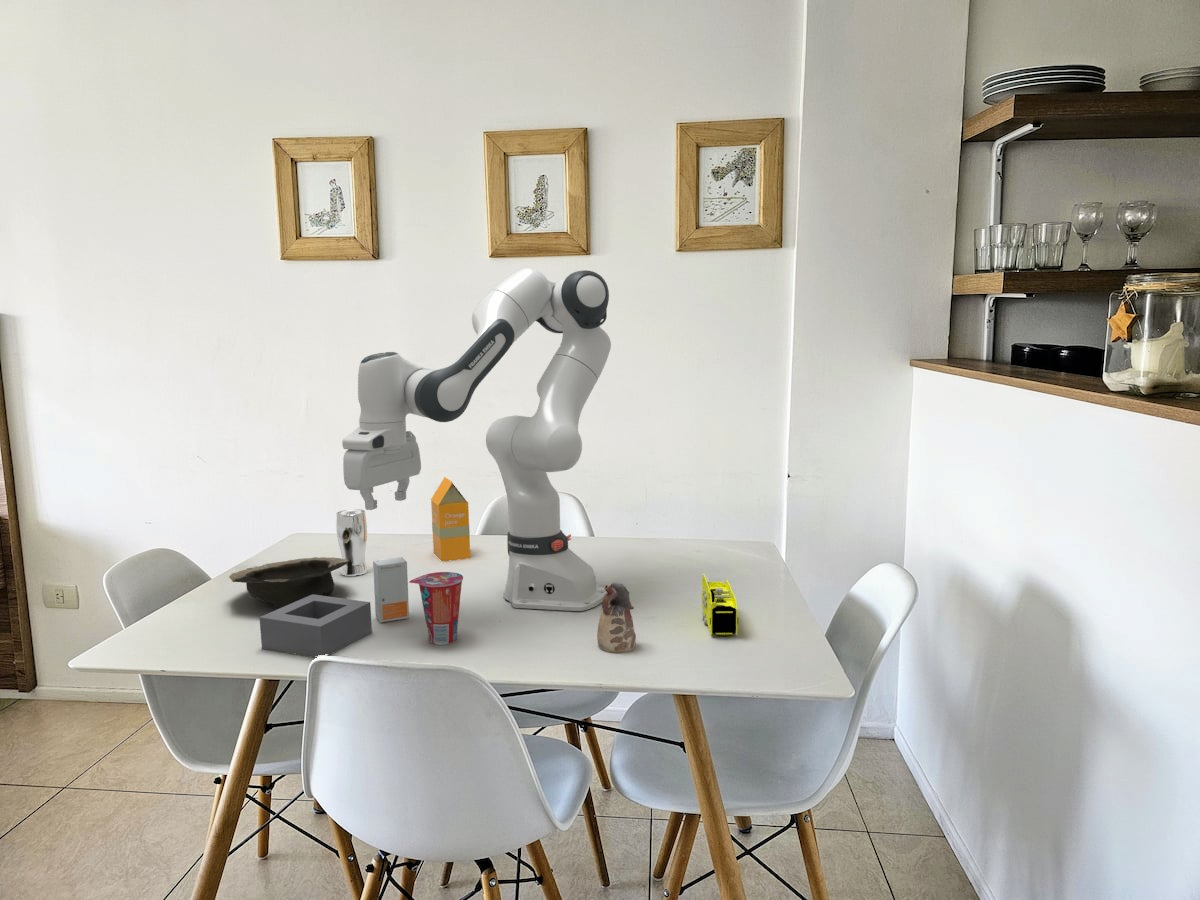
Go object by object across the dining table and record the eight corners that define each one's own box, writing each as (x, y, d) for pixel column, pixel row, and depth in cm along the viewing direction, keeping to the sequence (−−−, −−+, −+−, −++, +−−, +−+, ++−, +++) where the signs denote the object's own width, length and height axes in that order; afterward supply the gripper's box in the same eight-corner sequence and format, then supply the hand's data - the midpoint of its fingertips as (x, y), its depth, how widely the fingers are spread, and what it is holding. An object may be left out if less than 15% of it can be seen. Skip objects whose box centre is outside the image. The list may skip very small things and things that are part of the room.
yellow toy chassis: (699, 610, 171) (699, 570, 170) (727, 609, 171) (727, 570, 170) (708, 639, 155) (708, 596, 154) (738, 638, 155) (739, 595, 154)
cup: (450, 628, 162) (447, 568, 160) (474, 639, 156) (471, 578, 154) (407, 640, 156) (404, 578, 154) (430, 653, 150) (427, 589, 148)
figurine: (644, 647, 151) (643, 583, 149) (611, 656, 147) (610, 591, 145) (621, 635, 157) (621, 574, 155) (590, 643, 153) (589, 581, 151)
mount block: (371, 632, 161) (370, 602, 160) (322, 658, 148) (320, 626, 147) (314, 623, 166) (312, 594, 165) (261, 648, 153) (259, 617, 152)
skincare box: (380, 623, 165) (376, 565, 163) (375, 617, 169) (372, 560, 167) (410, 618, 168) (407, 561, 166) (405, 612, 172) (402, 556, 170)
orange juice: (462, 550, 219) (459, 475, 217) (470, 558, 211) (468, 481, 209) (432, 553, 216) (429, 478, 213) (440, 562, 208) (437, 483, 205)
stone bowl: (307, 621, 167) (300, 576, 165) (206, 619, 174) (199, 576, 173) (374, 582, 190) (369, 543, 189) (283, 582, 198) (277, 545, 196)
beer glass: (364, 577, 196) (360, 515, 194) (335, 577, 197) (331, 515, 194) (373, 568, 203) (369, 508, 201) (344, 568, 204) (341, 509, 201)
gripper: (401, 429, 174) (404, 494, 176) (335, 441, 155) (339, 513, 157) (427, 430, 171) (429, 496, 173) (363, 442, 153) (366, 516, 155)
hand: (386, 504), depth 165 cm, fingers open, 8 cm apart
